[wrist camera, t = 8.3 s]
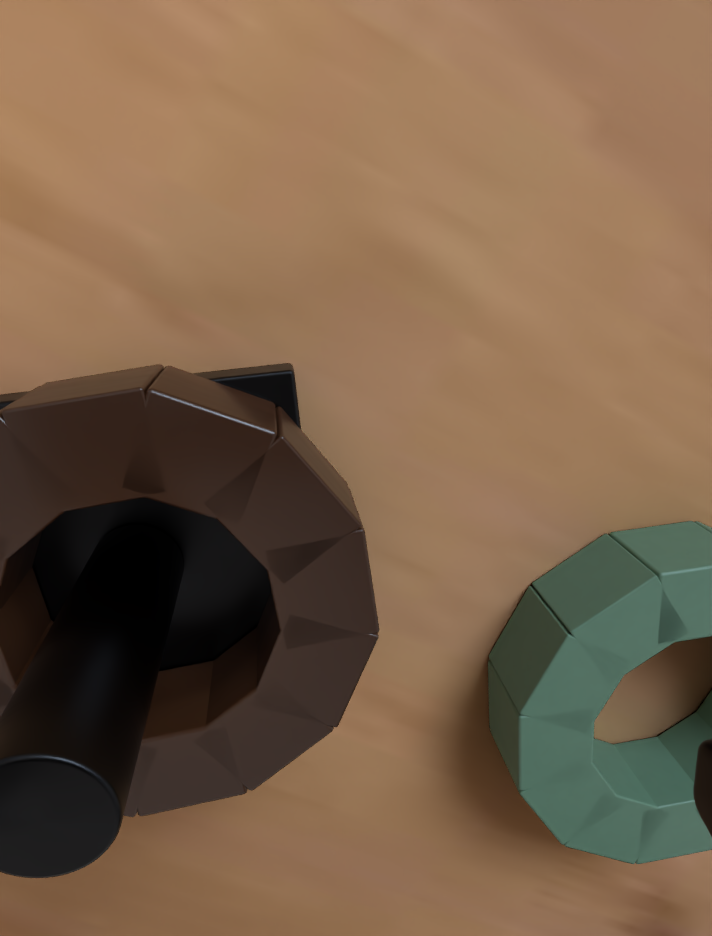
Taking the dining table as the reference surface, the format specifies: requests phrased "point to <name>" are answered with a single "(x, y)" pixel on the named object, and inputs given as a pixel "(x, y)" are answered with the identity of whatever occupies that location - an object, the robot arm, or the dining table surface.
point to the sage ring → (605, 693)
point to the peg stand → (116, 654)
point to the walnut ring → (245, 516)
